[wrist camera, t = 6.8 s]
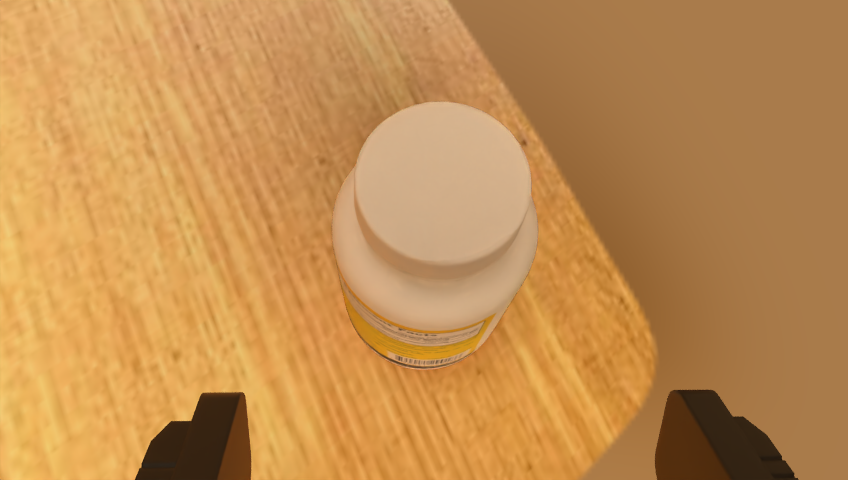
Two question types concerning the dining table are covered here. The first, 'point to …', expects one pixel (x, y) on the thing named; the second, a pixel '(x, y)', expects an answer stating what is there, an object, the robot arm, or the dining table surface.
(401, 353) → the supplement bottle
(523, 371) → the dining table surface
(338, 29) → the dining table surface
